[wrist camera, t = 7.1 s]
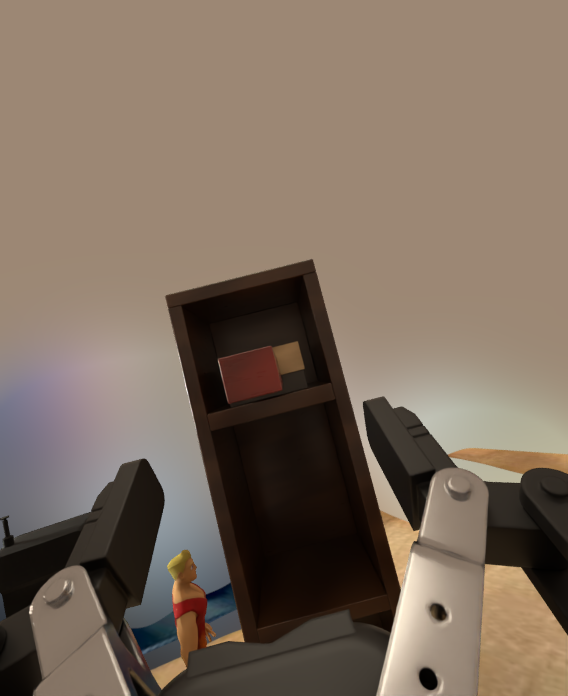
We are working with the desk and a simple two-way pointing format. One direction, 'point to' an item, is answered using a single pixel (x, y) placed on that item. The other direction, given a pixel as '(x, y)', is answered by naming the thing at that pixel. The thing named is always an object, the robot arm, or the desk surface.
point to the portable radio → (34, 560)
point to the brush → (262, 373)
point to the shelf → (284, 459)
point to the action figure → (188, 605)
